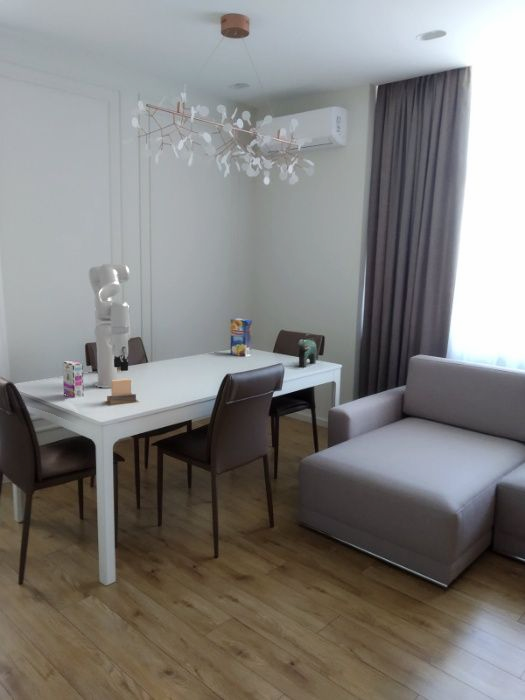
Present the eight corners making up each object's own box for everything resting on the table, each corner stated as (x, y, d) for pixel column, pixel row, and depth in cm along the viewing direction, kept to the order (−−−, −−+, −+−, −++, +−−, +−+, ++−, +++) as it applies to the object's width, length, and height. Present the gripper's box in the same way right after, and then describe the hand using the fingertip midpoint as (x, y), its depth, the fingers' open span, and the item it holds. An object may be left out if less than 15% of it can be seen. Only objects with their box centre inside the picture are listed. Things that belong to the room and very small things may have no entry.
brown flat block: (103, 403, 245) (103, 394, 244) (134, 399, 252) (133, 390, 251) (108, 408, 238) (108, 398, 237) (139, 404, 245) (139, 394, 244)
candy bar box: (84, 398, 253) (83, 363, 250) (74, 400, 250) (72, 364, 247) (73, 393, 261) (72, 359, 258) (63, 395, 257) (61, 361, 255)
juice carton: (251, 355, 371) (251, 319, 366) (245, 356, 364) (246, 320, 360) (236, 353, 376) (236, 318, 372) (230, 354, 370) (230, 319, 366)
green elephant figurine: (304, 368, 331) (305, 335, 327) (294, 367, 334) (295, 334, 331) (318, 363, 347) (319, 332, 344) (309, 362, 351) (310, 331, 347)
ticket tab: (111, 401, 244) (111, 380, 242) (129, 399, 248) (128, 378, 246) (113, 403, 241) (113, 381, 240) (131, 401, 246) (130, 379, 244)
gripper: (106, 328, 244) (107, 366, 247) (117, 333, 230) (118, 373, 232) (122, 328, 248) (123, 365, 251) (134, 332, 234) (135, 371, 236)
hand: (121, 368), depth 242 cm, fingers open, 9 cm apart
